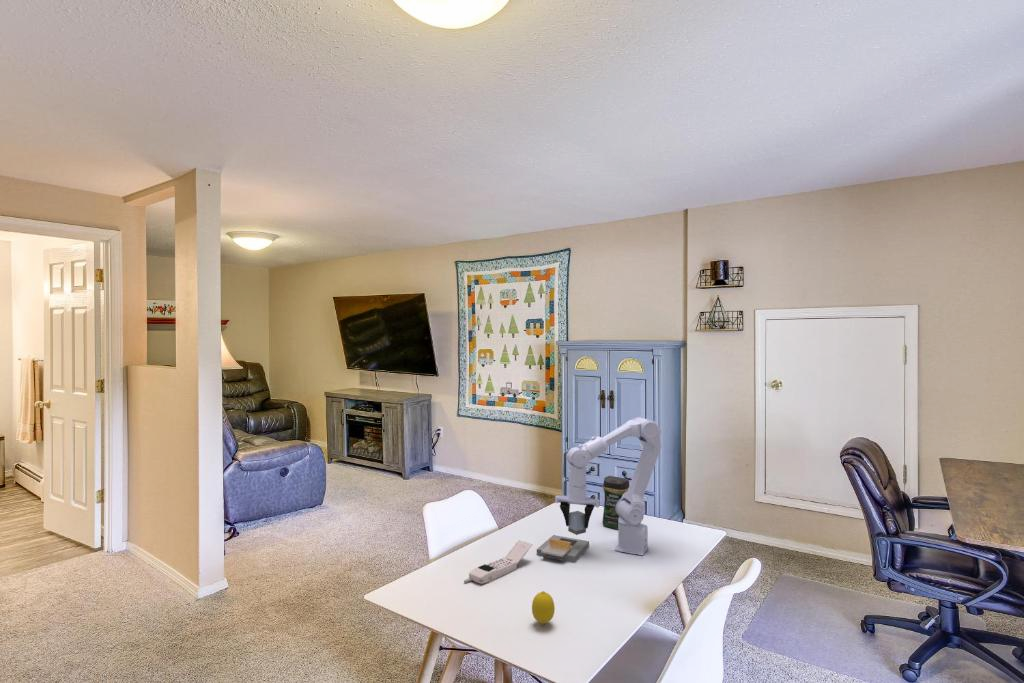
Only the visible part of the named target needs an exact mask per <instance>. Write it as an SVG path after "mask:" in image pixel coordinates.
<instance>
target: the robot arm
mask: <svg viewBox="0 0 1024 683" xmlns="http://www.w3.org/2000/svg"><path fill="white" fill-rule="evenodd" d="M661 433H662V430H661V428H660V427H659V425H658V423H657V422H656V421H655V420H653V419H652V420H651V419H647V418H644V417H642V416H636V417H634V418H632V419H629V420H627V422H625V423H623V424H622V425H620V426H619V427H617V428H616V429H614V430H613V431H612V430H611V432H609V433H608V434H606V435H604V436H603V437H601V436H594V435H593V436H592V437H590V440H587V441H585V442H584V443H580V444H578V447H577V446H576V447H575V446H574V447H572V448H570V449H568V452H567V455H565V458H566V460H567V462H568V495H556V496H554V503H556V504H559V503H560V505H559V508H560V510H561V512H562V514H563V518H564V521H565V526H566V527H568V526H569V513H570V510H571V505H579V506H580V505H581V506H585V507H584V514H585V528H586V530H587V529H588V528H589V523H590V518H591V515H592V513H593V510H594V509H595V507H596V508H599V507H600V506H601V505H600V503H601V500H600V499H596V498H591V497H587V466H588V465H589V464H590V463H589V462H590V461H592V460H593V459H595V458H597V457H599V456H601V455H602V454H604V453H606V452H607V451H608V448H609V446H611V445H613V444H615V443H618V442H620V441H622V440H624V439H626V438H628V437H631V438H632V437H634V438H638V440H639V442H640V443H641V445H642V450H641V453H640V456H639V458H638V460H637V464H636V467H635V470H634V472H633V475H632V478H631V481H630V482H629V488H628V491H627V492H625V493H624V494H623V495H622V498H621V499H620V500H619V501H618V502H617V504H616V513H617V514H618V515H619V519H618V529H617V530H618V532H617V535H618V537H617V538H618V540H617V542H618V543H617V545H616V546H615V547H614V551H615V552H621V553H625V554H626V553H627V554H632V555H636V554H638V556H644V555H645V554H646V552H647V550H648V549H649V546H648V545H649V544H648V543H649V542H648V541H649V534H648V533H649V532H648V530H649V529H648V525H647V524H643V523H642V522H643V520H644V517H645V515H644V510H645V505H646V504H645V500H644V496H645V494H646V490H647V488H648V484H649V482H650V479H651V476H652V474H653V471H654V468H655V466H656V463H657V460H658V458H659V455H660V451H661V448H662V446H661V445H662V444H661V435H660V434H661ZM647 548H648V549H647ZM645 551H646V552H645Z"/></svg>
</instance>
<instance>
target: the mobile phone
mask: <svg viewBox="0 0 1024 683" xmlns="http://www.w3.org/2000/svg"><path fill="white" fill-rule="evenodd" d="M532 546H533V544H532V543H530V542H527V541H523V540H519V539H518V541H517V542H515V543H514V546H513V547H512V548H511V549H510V550H509V552H508V553H507V555H506V556H505V557H501V558H499V559H497V560H495V561H492V562H489V563H486V564H485V563H484V564H482V565H479V566H478V567H475V568H474V569H472V570H469V572H468V578H466V579H464V580H463V583H464V584H467V583H469V582H472V581H473V582H475V583H478V584H481V585H483V584H487V583H492V581H494V580H497V579H499V578H500V577H503V576H506V575H507V574H509V573H511V572H513V571H515V569H516V570H517V568H518V564H519V563H520V562H521V561H522V559H523V558H524V557H525V556H526V554H527V553H528V552H529V550H530V549H531V548H532ZM496 578H497V579H496Z"/></svg>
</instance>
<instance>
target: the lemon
mask: <svg viewBox="0 0 1024 683" xmlns="http://www.w3.org/2000/svg"><path fill="white" fill-rule="evenodd" d="M531 613H532V617H533V618H534V619H535V620H536V621H537V622H538V623H540V624H541V625H542V626H543V625H545V624H547V623H549V622H550V621H551V620H552V619H553V617H554V615H555V602H554V599H553V597H552V595H551V594H550V593H548V592H545V591H543V590H542V591H540V592H538V593H537V594H536V595H535V596H534V597H533V600H532V604H531Z"/></svg>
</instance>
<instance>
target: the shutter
mask: <svg viewBox="0 0 1024 683" xmlns="http://www.w3.org/2000/svg"><path fill="white" fill-rule="evenodd" d="M571 549H572V546H571V542H567V541H562V540H556V539H550V544H548V545H547V546H546V547H545V548H544V549H543V550H542V551H541V553H545V554H550V555H555V556H560V557H564V556H565V555H566V554H567V553H568V552H569V551H570V550H571Z"/></svg>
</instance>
